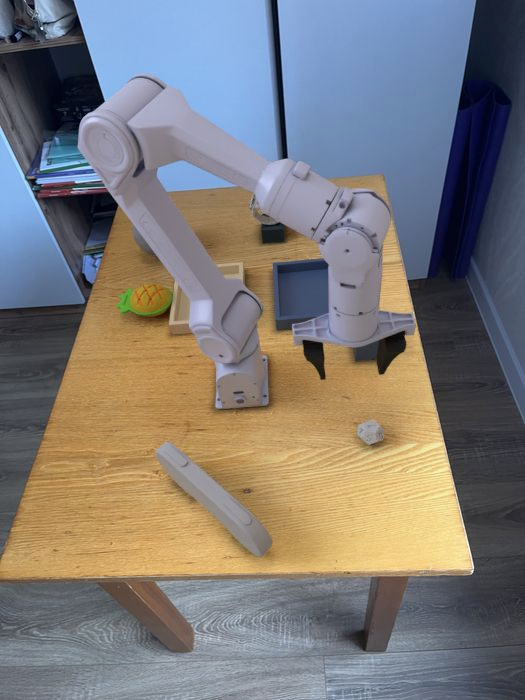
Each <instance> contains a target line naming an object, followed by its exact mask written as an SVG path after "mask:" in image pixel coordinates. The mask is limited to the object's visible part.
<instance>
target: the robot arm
mask: <svg viewBox="0 0 525 700" xmlns="http://www.w3.org/2000/svg"><path fill="white" fill-rule="evenodd" d="M77 138H78V139H77V149H78V151H79V152H80V154H81V155H82V157H83V158H84V159H85V161H87V163H88V165H89V166H90V167H91V169H92V170H93V171H94V173H95V174H96V175H97V177H98V178H99V179H100V180H101V182H102V183H103V185H104V186H105V188H106V191H108V193H109V194H110V195H111V196H112V198H113V199H114V201H115V202H116V203H117V205H118V206H119V208H120V209H121V210H122V211H123V213H124V214H125V215H126V217H127V218H128V220H129V221H130V223H132V226H133V225H134V226H135V227H136V229H137V230H138V231H139V233H140V234H141V235H142V237H143V238H144V239H145V241H146V242H147V243H148V245H149V246H150V247H151V249H152V250H153V251H154V253H155V254H156V255H157V256H156V257H157V258H158V260H159V261H160V263H161V264H162V265H163V266H164V268H165V269H166V270H167V272H168V273H169V274H170V276H171V277H172V278H173V280H174V282H175V281H176V282H177V284H178V285H179V286H180V288H181V289H182V290H183V292H184V293H185V294H186V296H187V297H188V298H189V300H190V316H189V328H190V330H191V331H192V332H193V333H192V334H193V335H194V337H195V340H196V344H197V346H198V348H199V350H200V351H201V352H202V354H204V355H205V356H206V357H207V358H208V359H210V360H212V361H213V363H214V367H215V387H216V389H215V405H214V406H215V408H216V410H226V409H239V408H240V409H241V408H253V407H266V406H268V405H269V403H270V401H269V400H270V399H269V397H270V396H269V371H268V370H269V369H268V365H269V364H268V356H267V355H264V354H262V348H261V347H262V346H261V341H260V335H259V331H258V328H259V324H258V322H259V320H260V319H261V318H262V316H263V314H264V304H263V302H262V301H261V299H260V297H259V296H258V295H256V294H255V293H254V292H252V291H251V290H250V289H249V288H248V287H247V286H246V284H245V285H244V284H243V282H242V281H241V279H237V278H224V276H223V275H222V273H221V272H220V270H219V269H218V267H217V266H216V264H217V263H215V261H214V260H213V258H212V257H211V255H210V253H209V252H208V250H207V249H206V248H205V247H204V245H203V243H202V241H201V240H200V239H199V237H198V236H197V235H196V233H195V232H194V230H193V229H192V227H191V225H190V224H189V223H188V220H187V219H186V218H185V216H184V215H183V214H182V212H181V210H180V209H179V207H178V206H177V205H176V203H175V201H174V200H173V198H172V197H171V196H170V194H169V193H168V191H167V190H166V188H165V187H164V185H163V184H162V182H161V180H159V177H158V169H159V168H161V167H165V166H167V165H171V164H174V163H177V162H181V161H183V162H186V163H188V164H190V165H192V166H194V167H197V168H198V169H201V170H202V171H205V172H207V173H209V174H211V175H213V176H215V177H217V178H219V179H222V180H224V181H225V182H227V183H230V184H232V185H235V186H237V187H238V188H241V189H242V190H245V191H247V192H250V193H252V195H253V194H254V195H255V196H256V199H257V202H258V205H259V207H260V209H259V210H260V211H261V213H262V214H267V215H268V216H270V217H272V218H273V219H275V220H277V221H279V222H281V223H282V224H284V225H285V227H288V228H290V229H291V230H292V231H295V232H297V233H299V234H300V235H302V236H304V237H306V238H307V239H309V240H311V241H312V242H314V243H315V244H317V245H318V249H319V253H320V255H321V258H324V260H325V261H326V262H327V263H328V264H329V266H328V283H329V313H328V314H325V315H322V316H320V317H317V318H314V319H311V320H309V321H306V322H303V323H298V324H292V329H291V330H292V338H293V346H294V347H300V346H302V351H303V355H304V358H305V360H306V361H307V362H309V363H310V364H311V365H312V366H313V367H314V368H315V370H316V371H317V373H318V375H319V379H320V380H321V381H325V380H326V379H327V375H326V367H325V360H326V359H325V358H326V356H325V350H324V344H327V345H328V344H329V345H333V346H339V347H345V348H353V347H361V346H365V345H367V344H370V343H373V342H375V341H378V340H379V345H378V351H377V358H376V359H375V360H376V362H375V363H376V368H377V372H378V375H379V376H383V375H385V374H386V371H387V370H388V368H389V366H390V365H391V363H392V362H393V361H394V360H395V359H396V358H397V357H398V356H399V355H401V354H403V353H405V352H406V348H407V340H406V336H407V337H409V336H415V333H416V327H417V322H416V319H415V316H414V313H413V312H396V311H389V310H381V309H380V301H381V292H382V291H381V290H382V280H383V279H382V278H383V270H384V269H383V259H384V256H383V253H384V242H385V239H386V237H387V234H388V232H389V229H390V226H391V222H392V210H391V207H390V205H389V203H388V202H387V201H386V200H385V198H383V197H382V196H381V195H379V194H378V192H376V191H375V190H373V189H370V188H365V187H364V188H363V187H360V188H359V187H358V188H349V187H348V186H338V185H336V184H335V183H333V182H332V181H330V180H328V179H326V178H324V177H323V176H321V175H319V174H318V173H316V172H314V171H312V170H311V166H310V165H309V164H307V163H306V162H304V161H302V160H299V161H297V162H296V161H295V160H293V159H291V158H283V159H282V158H281V159H279V160H275V161H270V160H269V159H267V158H266V157H264V156H263V155H261V154H259V153H258V152H257V151H255V150H254V149H252V148H251V147H249V146H248V145H246V144H245V143H243V142H242V141H240V140H239V139H237V138H235V137H234V136H233V135H231V134H230V133H228V132H226V130H224V129H222V128H221V127H219V126H217V125H216V124H214V123H213V122H212V121H211V120H208V118H206V117H204V116H203V115H201V114H200V113H199V112H197V111H196V110H194V109H193V108H192V107H191V106H190V105H189V102H188V101H187V99H186V97H185V96H184V94H183V92H182V91H181V90H180V89H178V88H176V87H174V86H171V85H168V84H167V83H165V81H163V80H162V79H161V78H160V77H158V76H155V75H153V74H151V73H146V72H145V73H144V72H143V73H137V74H134V75H132V77H131V78H129V80H128V81H127V82H126V84H125V85H124V86H123V87H121V88H119V90H117V91H116V92H115V93H114V94H113V95H111V96H110V97H109V98H108V99H107V100H105V101H104V102H103V103H102V104H100V105H99V106H98V107H97V108H96V109H95V110H93V111H91V112H88V113H87V114H86V115H85V116H83V117H82V119H81V121H80V123H79V127H78V137H77ZM336 192H337V193H336Z"/></svg>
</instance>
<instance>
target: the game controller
mask: <svg viewBox="0 0 525 700" xmlns="http://www.w3.org/2000/svg"><path fill="white" fill-rule="evenodd" d="M154 456H155V458H156V460H157V461H158V463H159V464H160V465H161V467H162V469H164V471H165V472H166V473H167V474H168V475H169V477H170V478H171V479H172V480H173V481H174V482H175V483H176V484H177V485H178V486H179V487H180V488H181V489H182V490H183V491H184V492H186V493H187V494H188V495H189V496H191V497H192V498H193V499H194V500H196V501H197V502H198V504H200V505H201V506H202V507H203V509H205V510H206V511H207V512H208V513H209V514H211V515H212V517H214V518H215V519H216V520H217V521H218V522H219V523H220V524H221V525H222V526H223V527H224V528H225V529H226V530H227V532H229V533H230V535H232V536H233V538H235V540H237V541H238V543H240V544H241V546H243V547H244V548H245V549H246V550H247V551H249V552H250V553H251V554H253V555H254V556H256V557H258V558H262V557H264V556H265V555H266V553H267V552H268V551H269V550H270V549H271V548H272V547H273V545H274V542H273V539H272V536H271V535H270V533H269V532H268V530H267V528H266V527H265V526H264V525H263V524H262V523H261V522H260V520H259V519H258V518H257V517H256V516H255V515H254V514H253V513H252V512H251V511H250V510H249V509H248V508H247V507H246V506H245V505H244V504H242V503H241V501H239V500H238V499H237V498H235V496H233V494H231V493H230V492H229V491H228V490H226V488H224V487H223V486H222V485H221V484H220V483H219V482H218V481H216V480H215V479H214V478H213V477H212V476H211V475H210V474H209V473H207V472H206V471H205V470H204V469H203V468H202V467H201V466H200V465H199V464H197V463H196V462H195V461H194V460H193V459H191V458H190V457H189V456H188V455H187V454H186V453H185V452H183V451H182V450H181V449H180V448H179V447H178V446H177V445H175V444H174V443H172V442H171V441H165V442H164V443H162V445H160V446H159V447H158V448H157V449H156V450H155V451H154Z"/></svg>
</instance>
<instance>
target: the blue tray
mask: <svg viewBox="0 0 525 700" xmlns="http://www.w3.org/2000/svg"><path fill="white" fill-rule="evenodd" d="M328 266H329V264H328V263H327V262H326V261H325V260H324V258H323V257H319V258H309V259H298V260H287V261H277V262H272V278H273V279H272V280H273V281H272V282H273V299H274V301H273V302H274V319H275V320H274V321H275V327H276V331H285V330H292V324H298V323H303V322H306V321H309V320H311V319H314V318H317V317H320V316H322V315H325V314H328V313H329V283H328Z"/></svg>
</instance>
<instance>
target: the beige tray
mask: <svg viewBox="0 0 525 700" xmlns="http://www.w3.org/2000/svg"><path fill="white" fill-rule="evenodd" d="M215 264H216V266H217V267H218V269H219V270H220V272H221V273H222V275H223V276H224V278H237V279H241V281H242V282H243V284H244V285H245V286H246V269H245V263H244V261H239V262H238V261H237V262H227V263H226V262H225V263H215ZM172 296H173V297H172V302H171V304H170V312H169V320H168V327H169V330H170V332H171V335H173V336H174V335H186V334H193V332H192V331H191V330H190V328H189V316H190V300H189V298H188V297H187V296H186V294H185V293H184V292H183V290H182V289H181V288H180V286H179V285H178V284H177V282H176V281H175V280H174V283H173V291H172Z"/></svg>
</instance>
